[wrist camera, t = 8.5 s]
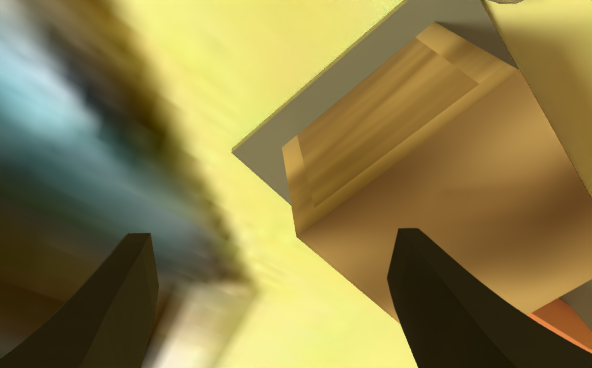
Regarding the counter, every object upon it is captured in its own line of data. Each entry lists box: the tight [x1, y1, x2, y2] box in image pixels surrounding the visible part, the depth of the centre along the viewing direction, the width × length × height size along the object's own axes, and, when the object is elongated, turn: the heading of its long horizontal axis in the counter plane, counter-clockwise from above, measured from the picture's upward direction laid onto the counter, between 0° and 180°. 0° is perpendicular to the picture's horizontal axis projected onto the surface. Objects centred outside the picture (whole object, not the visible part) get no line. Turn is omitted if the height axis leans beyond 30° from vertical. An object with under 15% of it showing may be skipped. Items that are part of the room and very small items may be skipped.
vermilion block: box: [527, 298, 592, 353], centre depth 27 cm, size 11×4×5 cm, turn 52°
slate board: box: [232, 0, 592, 332], centre depth 27 cm, size 31×13×1 cm, turn 41°
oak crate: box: [282, 22, 592, 323], centre depth 20 cm, size 11×9×7 cm
